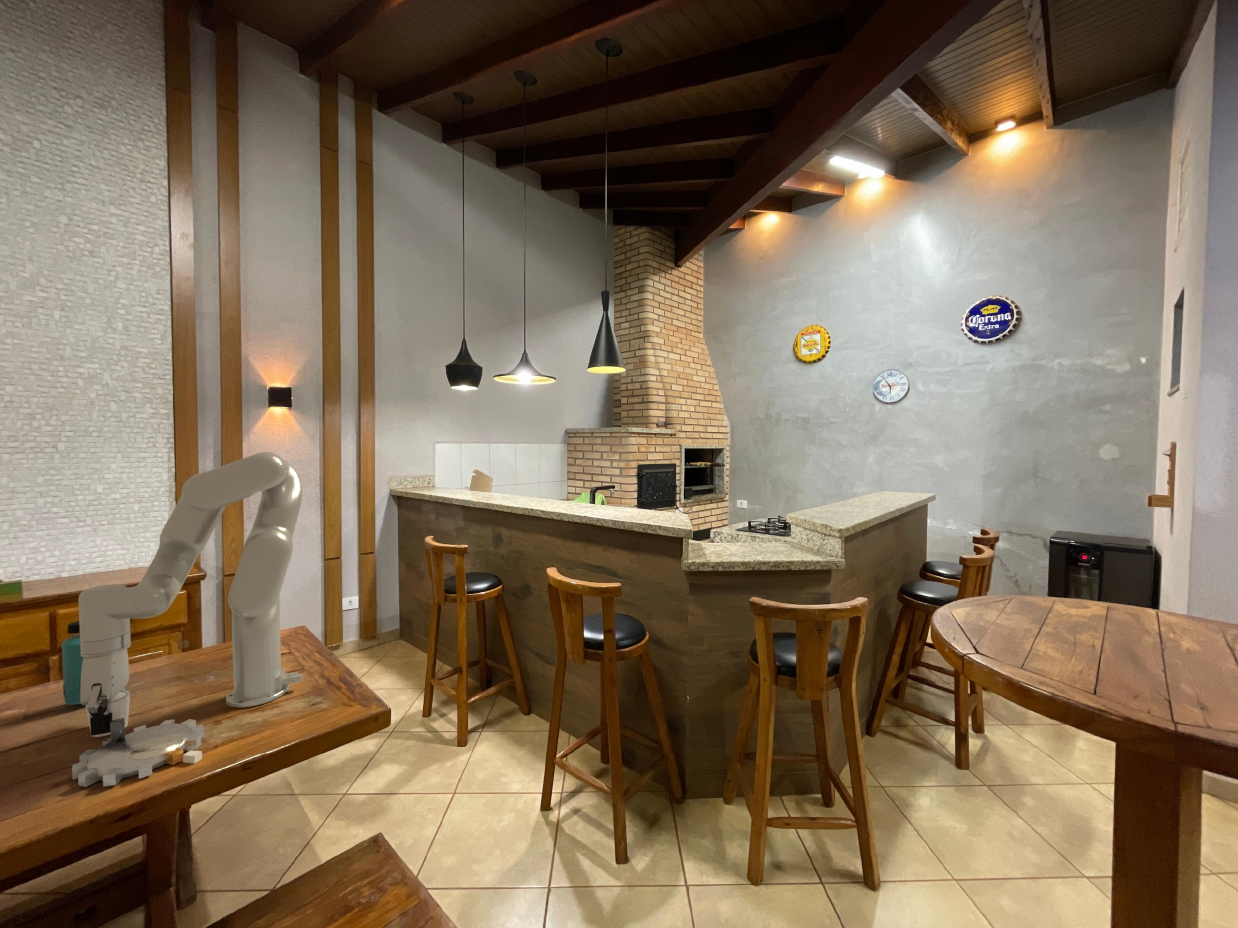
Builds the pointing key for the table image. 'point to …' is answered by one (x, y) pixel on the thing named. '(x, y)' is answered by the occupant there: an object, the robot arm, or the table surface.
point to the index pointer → (192, 756)
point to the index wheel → (136, 751)
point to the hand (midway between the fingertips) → (109, 723)
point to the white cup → (116, 708)
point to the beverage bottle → (72, 665)
